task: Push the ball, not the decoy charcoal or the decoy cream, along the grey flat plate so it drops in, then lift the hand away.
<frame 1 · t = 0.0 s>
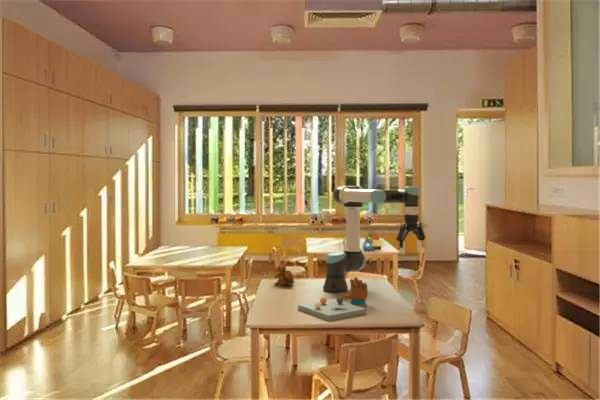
hand: (410, 252, 274), 28 cm above the table, fingers open, 13 cm apart
grey flat plate: (331, 311, 257), on the table
decoy cream: (318, 305, 253), point 4 cm above the table, touching grey flat plate
stuffed squirrel: (285, 285, 324), on the table
decoy charcoal: (339, 300, 264), point 4 cm above the table, touching grey flat plate
ball: (323, 300, 262), point 4 cm above the table, touching grey flat plate
toy: (356, 303, 274), on the table
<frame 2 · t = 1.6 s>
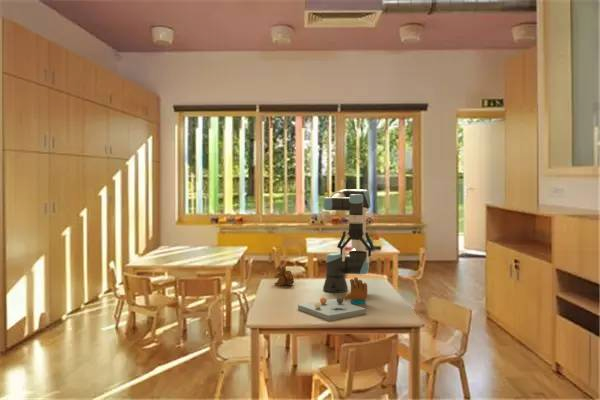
hand: (355, 261, 271), 23 cm above the table, fingers open, 13 cm apart
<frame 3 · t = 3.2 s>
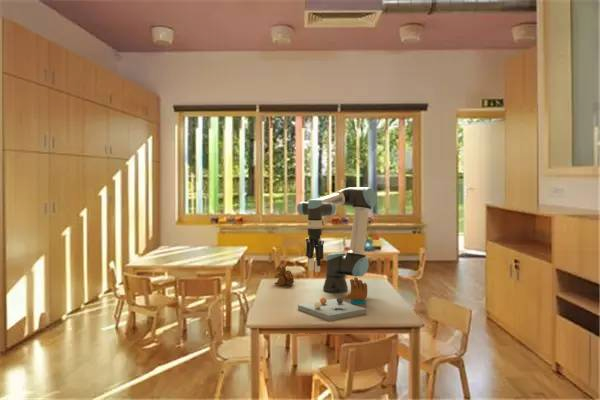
hand: (314, 271, 268), 19 cm above the table, fingers open, 5 cm apart
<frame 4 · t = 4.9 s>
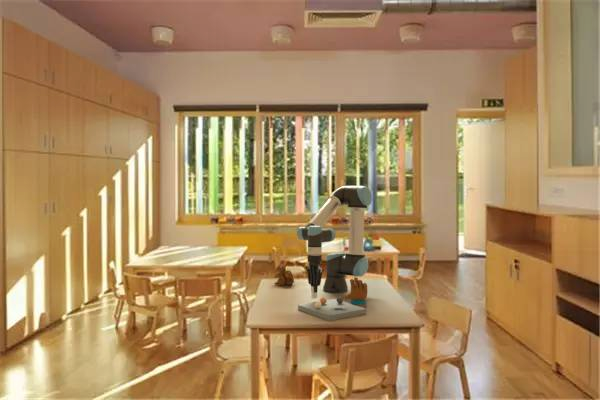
hand: (314, 298, 269), 4 cm above the table, fingers closed
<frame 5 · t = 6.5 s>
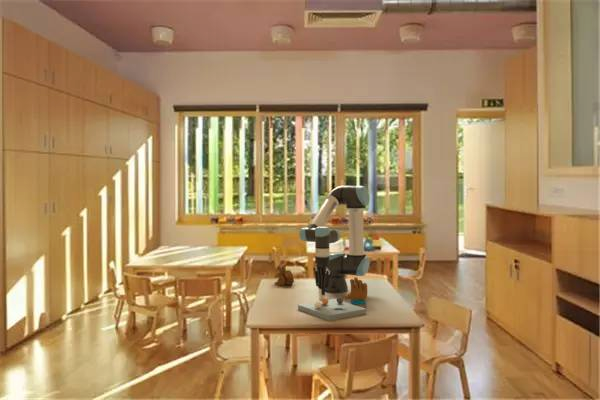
hand: (321, 300, 263), 4 cm above the table, fingers closed
ball: (325, 301, 261), point 4 cm above the table, tilted 52°, touching grey flat plate
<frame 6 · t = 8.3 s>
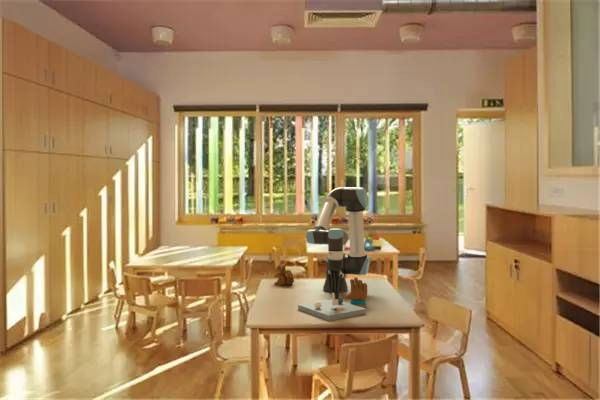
hand: (335, 305, 254), 4 cm above the table, fingers closed
ball: (339, 310, 251), point 2 cm above the table, tilted 155°
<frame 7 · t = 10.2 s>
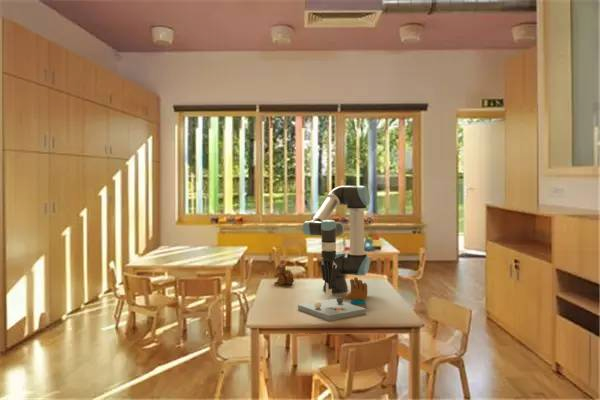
hand: (328, 294, 261), 8 cm above the table, fingers closed
ball: (339, 310, 252), point 2 cm above the table, tilted 144°
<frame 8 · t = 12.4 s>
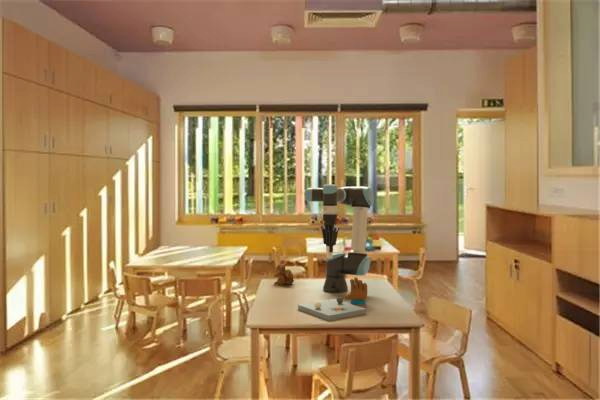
hand: (329, 258, 264), 26 cm above the table, fingers closed
ball: (338, 310, 252), point 2 cm above the table, tilted 130°
at the end: ball 0.3 cm from the target spot in the grey flat plate, point 1.7 cm above the grey flat plate's base; decoy charcoal moved 0.0 cm from its start; decoy cream moved 0.0 cm from its start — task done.
